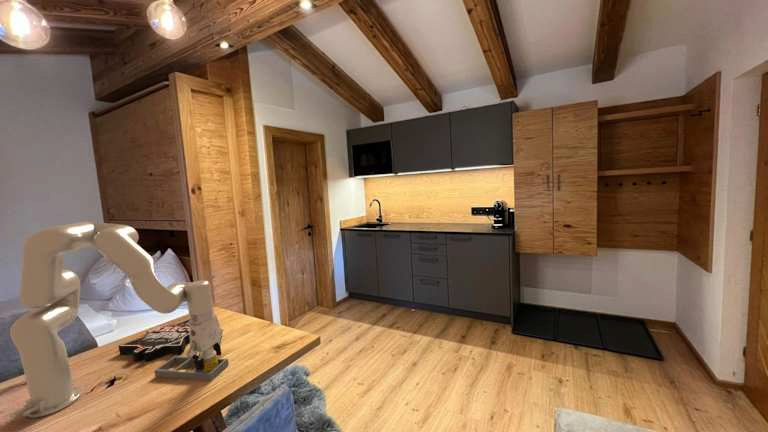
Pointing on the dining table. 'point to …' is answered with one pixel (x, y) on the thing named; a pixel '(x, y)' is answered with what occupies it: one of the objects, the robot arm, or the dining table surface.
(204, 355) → the supplement bottle
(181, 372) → the slot rack
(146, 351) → the wall plaque
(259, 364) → the dining table surface
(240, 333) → the dining table surface
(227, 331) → the dining table surface
